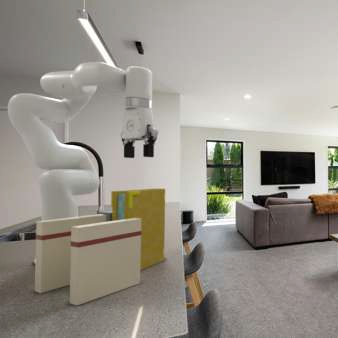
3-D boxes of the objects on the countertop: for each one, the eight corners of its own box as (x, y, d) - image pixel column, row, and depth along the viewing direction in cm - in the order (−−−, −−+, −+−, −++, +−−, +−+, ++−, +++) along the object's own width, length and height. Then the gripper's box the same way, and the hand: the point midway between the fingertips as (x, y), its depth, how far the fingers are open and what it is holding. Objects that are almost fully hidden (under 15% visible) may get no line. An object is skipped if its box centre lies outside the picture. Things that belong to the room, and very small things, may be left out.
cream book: (34, 291, 74) (35, 221, 74) (99, 272, 88) (100, 213, 88) (40, 293, 73) (42, 222, 73) (105, 274, 87) (106, 214, 87)
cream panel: (69, 303, 68) (70, 226, 68) (133, 281, 81) (134, 217, 82) (76, 305, 66) (78, 227, 67) (140, 283, 80) (141, 218, 80)
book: (128, 275, 86) (129, 191, 86) (109, 273, 87) (111, 191, 88) (168, 258, 102) (170, 188, 103) (152, 257, 104) (153, 188, 104)
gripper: (110, 105, 95) (110, 157, 95) (145, 100, 88) (145, 156, 88) (133, 110, 102) (133, 158, 102) (167, 105, 95) (167, 157, 95)
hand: (138, 157), depth 95 cm, fingers open, 9 cm apart
